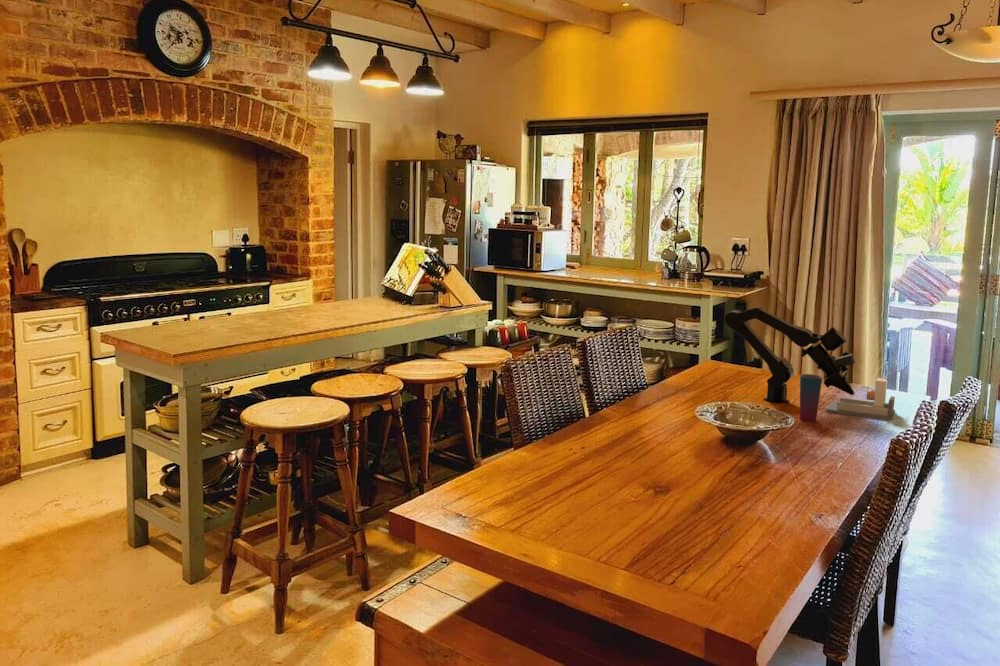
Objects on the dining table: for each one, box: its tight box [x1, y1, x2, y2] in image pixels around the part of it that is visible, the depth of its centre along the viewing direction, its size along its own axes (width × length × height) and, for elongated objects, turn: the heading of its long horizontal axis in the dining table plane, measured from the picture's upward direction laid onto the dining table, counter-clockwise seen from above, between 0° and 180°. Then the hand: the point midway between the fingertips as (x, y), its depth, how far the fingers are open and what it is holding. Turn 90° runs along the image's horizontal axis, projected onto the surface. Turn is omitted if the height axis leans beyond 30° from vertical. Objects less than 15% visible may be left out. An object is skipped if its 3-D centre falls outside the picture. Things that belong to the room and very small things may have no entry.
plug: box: [866, 377, 888, 407], centre depth 261 cm, size 6×5×11 cm
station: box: [825, 395, 896, 422], centre depth 264 cm, size 20×12×6 cm, turn 59°
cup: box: [799, 373, 823, 423], centre depth 254 cm, size 7×7×15 cm
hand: (853, 394), depth 265 cm, fingers closed
